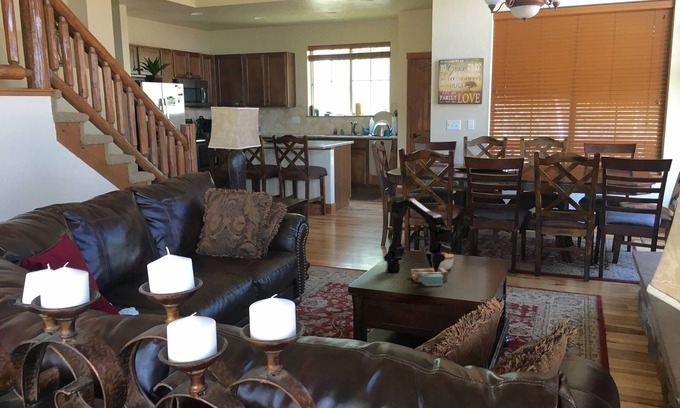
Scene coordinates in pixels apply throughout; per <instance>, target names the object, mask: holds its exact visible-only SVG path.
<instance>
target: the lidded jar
mask: <svg viewBox="0 0 680 408" xmlns="http://www.w3.org/2000/svg"><path fill="white" fill-rule="evenodd" d="M442 254H443V255H444V256H445V260H444V261H442V262H441V263H440V265H439V268H442V267H443V268H444V269H445V270H446V271H448V270H450V268H451V267H452V266H453V265H454V258H455V255H454V254H452V253H450V254H447V253H445V252H442Z"/></svg>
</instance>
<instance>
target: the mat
mask: <svg viewBox="0 0 680 408" xmlns="http://www.w3.org/2000/svg"><path fill="white" fill-rule="evenodd" d="M443 285H444V283H443V284H433V285H425V286H427V287H428V286H432V287H433V286H443Z"/></svg>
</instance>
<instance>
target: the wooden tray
mask: <svg viewBox="0 0 680 408" xmlns="http://www.w3.org/2000/svg"><path fill="white" fill-rule="evenodd" d="M426 274H441V275H442V276H443V282H448V275H449V271H448V270H445V269H444V268H443V267H442V268H438V271H437V272H435V271H434V268H411V276H410V278H411V279H412V280H413V281H414V282H415V283H422V282H421V278H422V275H426Z"/></svg>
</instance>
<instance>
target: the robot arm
mask: <svg viewBox="0 0 680 408" xmlns="http://www.w3.org/2000/svg"><path fill="white" fill-rule="evenodd" d="M409 208H410V209H411V210H413V211H414V212H415V213H417V215H419V216H421V217H422V218H423V219H424V222H425V223H426V224H427V225H428V226H427V227H425V230H426V231H428V240H427V244H428V245H427V246H424V247H423V252H424V255H425V259H426V260H427V262H428V266H429V268H432V269H434V271H435V272H437V271H438V268H439V265H440V263H441V262H442V261H444V260H445V256H444V255H443V254H442V253H443V252H445V253H447V254H451V251H452V248H451V247H450V246H448V244H452V243H453V242H454V241H455V234H454V232H453V230H452V228H448V226H447V225H446V222H445V220H444V217H443V215H441V214H439V213H437V212H434V211H431V210H429V209H428V208H427V207H425V206H424V205H423V204H421V203H420V202H419V201H417V200H416V199H415V198H414V197H412V198H406V199H404V200H397V201H393V202H392V204H391V213H392V215H393V226H392V227H393V228H392V237H391V243H390V245H389V246H388V250H387V253H386V254H385V255H384V256H383V261H384V262H386V266H385V267H386V268H385V271H386V273H387V274H396V273H397V274H400V269H401V263H400V261H402V258H403V256H404V255H405V249H406V248H405V246H403V244H402V236H403V235H402V234H403V226H404V217H405V216H406V214H407V212H408V209H409Z"/></svg>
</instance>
